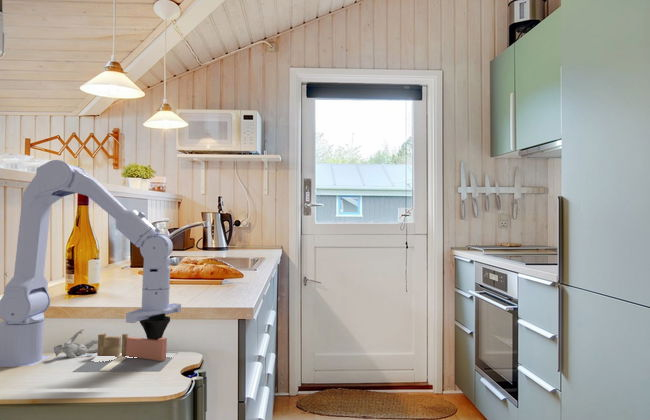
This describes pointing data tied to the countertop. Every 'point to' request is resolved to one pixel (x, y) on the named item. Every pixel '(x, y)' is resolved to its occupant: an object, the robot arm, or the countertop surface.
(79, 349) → the soldier figure
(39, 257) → the robot arm
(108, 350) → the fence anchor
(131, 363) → the board
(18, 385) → the countertop surface
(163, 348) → the fence panel
